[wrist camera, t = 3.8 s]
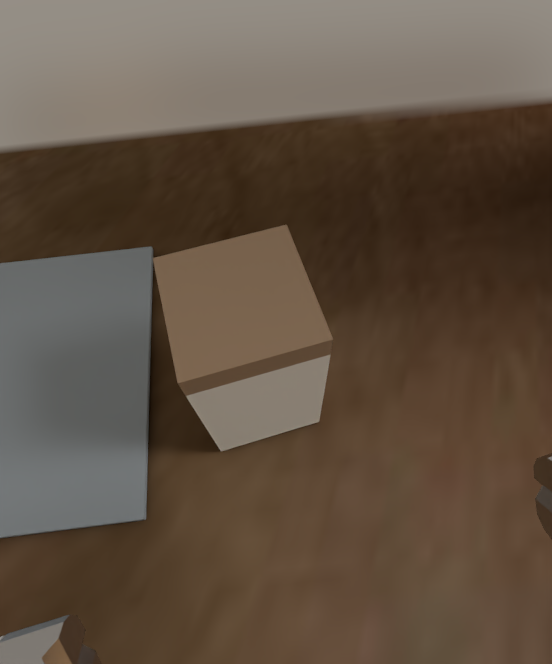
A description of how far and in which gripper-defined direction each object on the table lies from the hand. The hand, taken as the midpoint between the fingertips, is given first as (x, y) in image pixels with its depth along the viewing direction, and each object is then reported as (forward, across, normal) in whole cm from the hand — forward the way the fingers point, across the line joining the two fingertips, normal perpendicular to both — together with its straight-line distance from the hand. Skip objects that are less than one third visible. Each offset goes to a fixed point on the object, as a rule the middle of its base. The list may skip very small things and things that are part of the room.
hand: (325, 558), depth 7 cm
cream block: (+13, 0, +2) cm, 13 cm away
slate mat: (+16, +11, -1) cm, 19 cm away
